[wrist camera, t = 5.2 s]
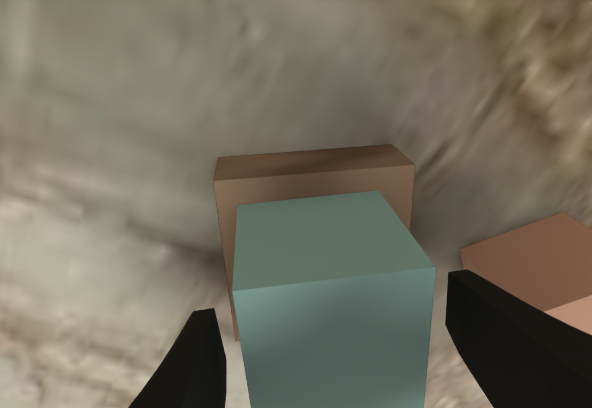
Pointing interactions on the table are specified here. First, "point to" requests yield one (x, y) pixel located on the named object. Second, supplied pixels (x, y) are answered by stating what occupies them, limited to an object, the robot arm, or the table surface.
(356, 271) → the teal cube
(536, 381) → the robot arm
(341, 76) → the table surface
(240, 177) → the walnut block
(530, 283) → the terracotta cube
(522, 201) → the table surface
